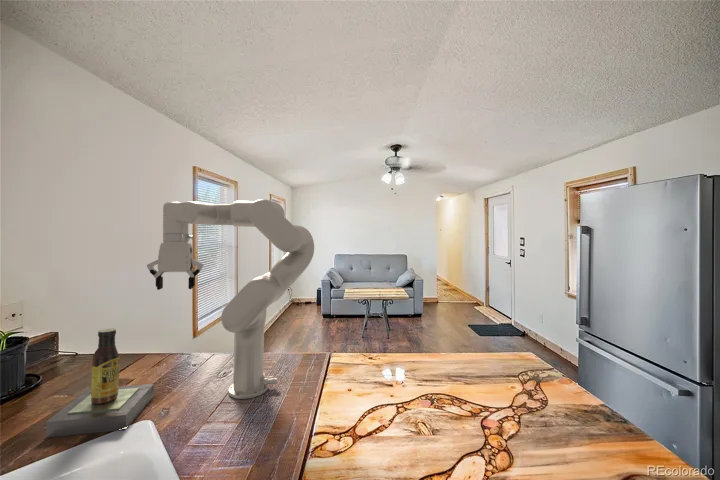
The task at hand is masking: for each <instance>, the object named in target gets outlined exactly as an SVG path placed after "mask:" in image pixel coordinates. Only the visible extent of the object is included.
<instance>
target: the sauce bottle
mask: <svg viewBox="0 0 720 480" xmlns="http://www.w3.org/2000/svg"><path fill="white" fill-rule="evenodd" d="M116 333H117V329H116V328H104V329H100V330H98V332H97V336H98V345H97V346H98V347H97V348H96V350H95V351H94V353H93V356H92V365H91V379H90V380H91V381H90V383H91V385H90V388H91V397H92V398H91V402H92V403H94V404H101V403H106V402H109V401H112V400H114V399H115V398H116V397H117V396H118V389H119V382H120V359H121V357H120V355H119V352H118V349H117V346H116V335H117V334H116Z"/></svg>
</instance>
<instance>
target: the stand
mask: <svg viewBox="0 0 720 480" xmlns="http://www.w3.org/2000/svg"><path fill="white" fill-rule="evenodd" d="M154 391H155V384H154V383H148V384H133V385H121V386H119V389H118V396H117V397H116V398H115V399H114V400H112V401H109V402H106V403H101V404H94V403H92V402H91V398H92V397H91V387H90V388H88V389H87V390H85V391H84V392H83V393H81V394H79V396H77V397H76V398H75V399H74V400H72V401H71V402H70V403H68V404H67V405H66V406H64V407H63V408H62V409H61V410H59V411H58V412H57V413H56V414H55V415H53V416H51V418H49V419H47V420H46V421H45V438H55V437H66V436H74V435H76V436H77V435H86V434H87V435H88V434H97V433H105V432H106V433H108V432H117V431H116V430H118V431H120V430H119V429H122V428H124V427H127V426H129V425H130V426H131V425H132V423H133V422H134V421H135V420H136V418H138V416H139V415H140V413H142V411H143V410H144V409H145V407H146V406H147V405H148V404H149V403H150V401H151V400H152V399H153V398H154V397H155V392H154ZM134 419H135V420H134ZM130 426H129V427H130Z"/></svg>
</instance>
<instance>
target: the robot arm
mask: <svg viewBox="0 0 720 480" xmlns="http://www.w3.org/2000/svg"><path fill="white" fill-rule="evenodd" d="M162 207H163V208H162V211H163V212H162V242H160V245H159V250H158V255H157V259H156V260H154V261H151V262H150V263H148V264H146V267H147V269H148V271H149V273H150V274H151V275H152V276H153V277H154V278H155V287H156V289H157V291H159V290H162V289H163V288H164V284H163V283H164V277H163V274H164V273H187V274H188V276H189V277H188V290H193V289H194V287H195V285H196V276H197V275H198V274H199V273H201V272H202V269H203V267H204V264H203V263H201V262H200V261H198V260H195V259H194V252H193V246H192V242H189V241H190V240H193V239H194V236H193V235H190V234H189V225H205V226H206V225H207V226H208V225H209V226H211V225H212V226H233V227H243V228H244V227H245V228H246V227H251V228H256V229H257V230H258V231H260V233H261V234H262V235H263V236H264V237H265V238H266V239H267V240H268V241H269V242H270V243H271V244H272V245H273V246H274V247H275V248H277V249H278V250H279V251H281V252H284V253H285V254H284V255H283V256H282V257H281V258H280V259H279V260H277V262H276V263H275V264H274V265H273V266H272V267H271V269H269V271H267V272H266V273H264V274H262V275H259V276H257V277H255V278H253V279H251V280H250V281H249V282H247V283H246V284H245V285H244V286H243V287H242V288H241V289H240V290H239V291H238V293H237V294H235V296H234V297H233V298H232V299H231V300H230V301H229V302H228V303H227V304H226V305H225V307H224V308H223V309H222V312H221V316H220V321H221V325H222V327H223V328H224V329H225V330H226V331H228V332H229V333H233V334H234V335H233V336H234V338H233V380H232V381H233V382H232V384H231V385H230V386H229V387H228V390H227V392H228V395H229V396H230V397H231V398H234V399H238V400H239V399H241V400H247V399H253V398H256V397H259V396H261V395H263V394H264V393H266V392H267V390H268V389H269V385H278V378H277V377H275V378H274V376H275V375H269V376H268V375H266V373H265V371H264V362H265V361H264V359H265V358H264V353H265V352H264V351H265V348H264V347H265V345H264V344H265V325H266V319H267V308H269V307H270V306H271V305H272V304H274V303H275V302H278V301H279V299H281V298H282V296H284V294H285V293H286V291H287V290H288V289H289V288H290V287H291V286H292V285H293V284H294V283H295V282H296V281H297V280H298V278H299V277H300V276H301V275H302V274H303V273H304V272H305V270H306V269H307V268H308V266H310V264H311V261H312V260H313V257H314V254H315V242H314V241H315V240H314V238H313V236H312V233H311V232H310V231H309V230H308V229H307V227H304V226H301V225H296V224H295V225H294V224H292V222H290V221H289V220H288V218H286V217H285V213H286V212H285V210H284V208H283V206H282V205H281V204H280V203H278V202H276V201H273V200H269V199H266V198H265V199H264V198H262V199H257V200H255V201H253V200H252V201H251V200H236V201H234V202H233V203H230V204H229V203H228V204H227V203H226V204H225V203H224V204H223V203H222V204H221V203H219V204H216V203H206V202H200V201H193V200H192V201H191V200H190V201H182V202H179V201H168V202H167V201H166V202H165V203H164V204H163V206H162ZM155 266H157V270H158V271H157V270H156V269H155ZM194 266H196V269H195V270H193V269H194Z"/></svg>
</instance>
